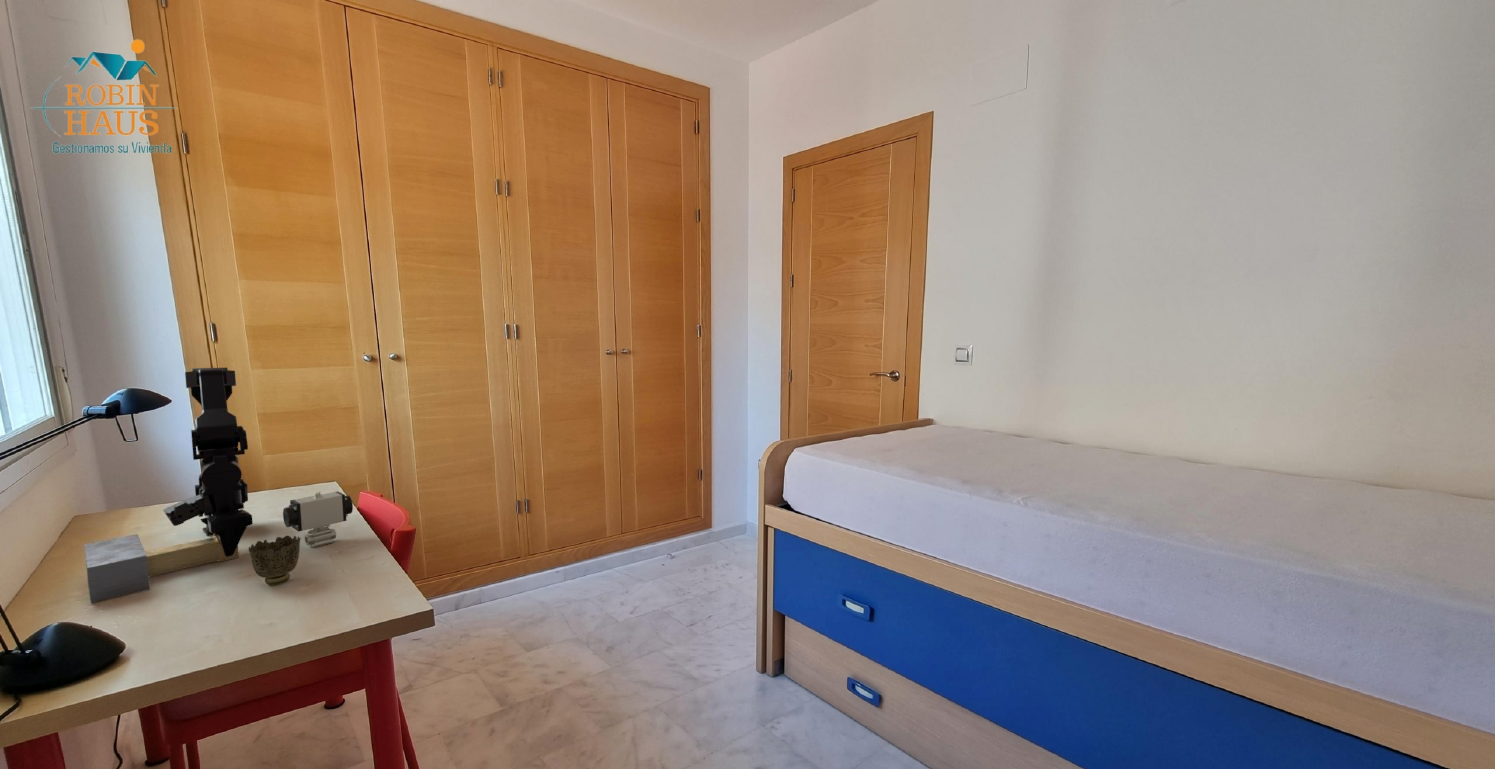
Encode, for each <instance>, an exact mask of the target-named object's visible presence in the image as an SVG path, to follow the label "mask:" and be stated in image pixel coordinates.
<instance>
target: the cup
mask: <svg viewBox="0 0 1495 769" xmlns="http://www.w3.org/2000/svg"><path fill="white" fill-rule="evenodd" d="M300 546H301V538H300V536H298V537H297V536H296V535H294V536H293V537H292V536H290V535H288V534H287V535H285V536H283V537H281V536H277V537H276V538H275V540H274V541H269V542H268V540H267V539H264V540H263V541H261V540H257V541H256V543H255V544H253V543H251V545H250V546H248V552H249V556H250V561H251V564H252V568H253V571H254V572H255V574H257V576H259V577H260V578H263V579H264V583H265V584H266V585H268V586H278V585H281V584H284V583H287V581H289V579H290V578H291V575H290V573H291V572H292V571H293V570H295V569H296V566H297V565H298V564H299V563H298V562H299V557H300V556H299V555H300V548H301V547H300Z"/></svg>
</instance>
